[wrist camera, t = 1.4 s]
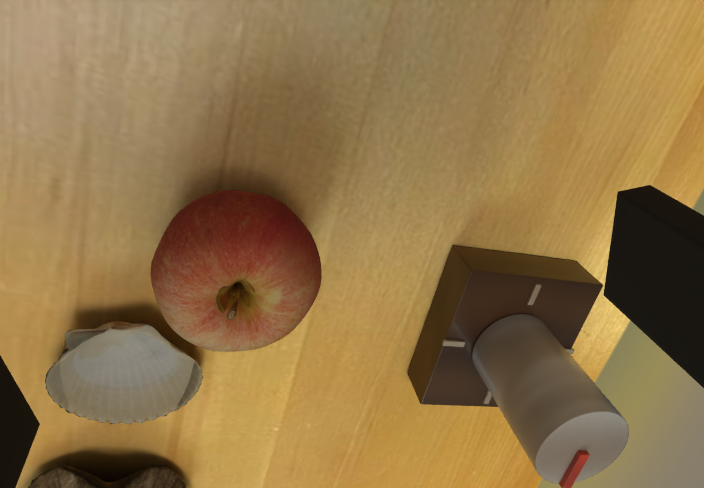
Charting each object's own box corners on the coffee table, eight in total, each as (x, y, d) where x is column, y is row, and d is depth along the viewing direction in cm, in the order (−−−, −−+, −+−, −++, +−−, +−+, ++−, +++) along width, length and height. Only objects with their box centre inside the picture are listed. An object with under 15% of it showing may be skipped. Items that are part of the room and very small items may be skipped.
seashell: (82, 387, 35) (208, 403, 35) (58, 429, 32) (194, 446, 33) (56, 291, 30) (203, 311, 30) (26, 332, 27) (186, 353, 28)
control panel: (450, 244, 33) (470, 271, 30) (577, 260, 36) (607, 286, 33) (405, 372, 37) (419, 406, 35) (521, 379, 40) (543, 410, 37)
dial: (488, 310, 32) (563, 414, 25) (560, 316, 34) (650, 417, 26) (461, 376, 34) (523, 490, 27) (529, 379, 36) (606, 488, 29)
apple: (124, 223, 28) (92, 312, 22) (250, 136, 28) (259, 201, 21) (222, 320, 32) (221, 421, 26) (334, 247, 32) (365, 332, 25)
